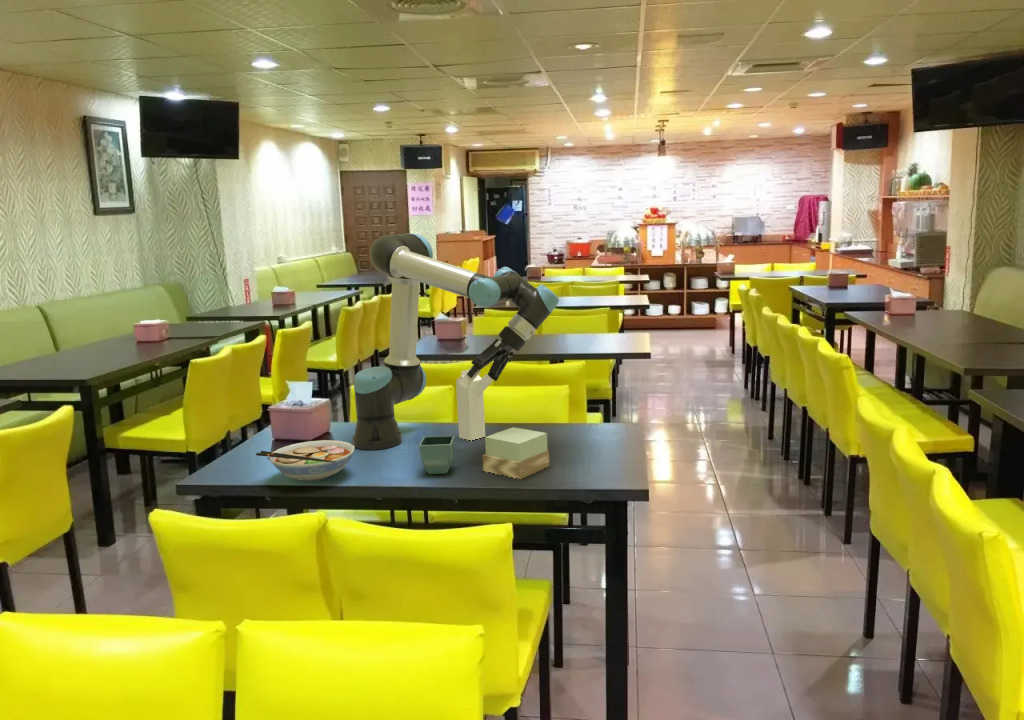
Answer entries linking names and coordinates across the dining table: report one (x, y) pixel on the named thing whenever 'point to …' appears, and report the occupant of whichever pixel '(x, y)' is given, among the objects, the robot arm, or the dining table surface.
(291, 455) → the ramen bowl
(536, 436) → the sage block
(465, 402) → the milk
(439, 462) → the flower pot
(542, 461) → the maple block
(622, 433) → the dining table surface
